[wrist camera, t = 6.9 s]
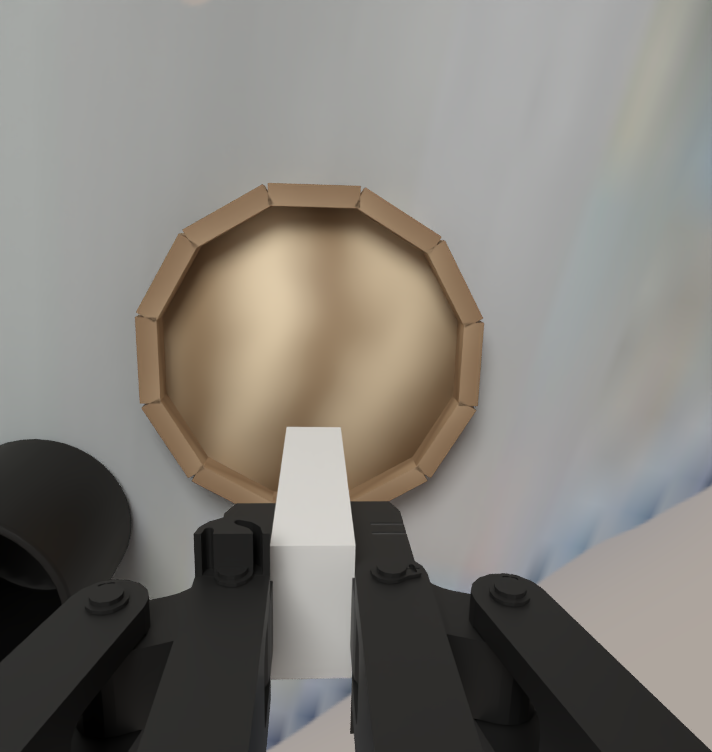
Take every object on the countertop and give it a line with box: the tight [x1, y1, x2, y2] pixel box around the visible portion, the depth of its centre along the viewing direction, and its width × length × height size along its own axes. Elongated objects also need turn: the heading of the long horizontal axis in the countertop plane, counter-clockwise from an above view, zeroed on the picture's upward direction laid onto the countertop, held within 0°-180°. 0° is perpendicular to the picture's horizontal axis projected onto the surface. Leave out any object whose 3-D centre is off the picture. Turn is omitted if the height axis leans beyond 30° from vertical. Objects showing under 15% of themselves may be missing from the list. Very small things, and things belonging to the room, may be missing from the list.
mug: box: [0, 439, 131, 662], centre depth 30 cm, size 9×12×9 cm
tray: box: [135, 183, 484, 504], centre depth 32 cm, size 17×17×2 cm
